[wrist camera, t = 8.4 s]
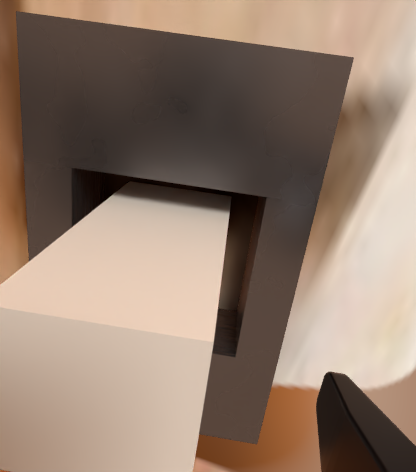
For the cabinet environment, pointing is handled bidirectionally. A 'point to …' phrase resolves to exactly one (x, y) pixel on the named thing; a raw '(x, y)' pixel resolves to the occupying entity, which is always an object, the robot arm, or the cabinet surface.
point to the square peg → (114, 336)
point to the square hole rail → (186, 161)
